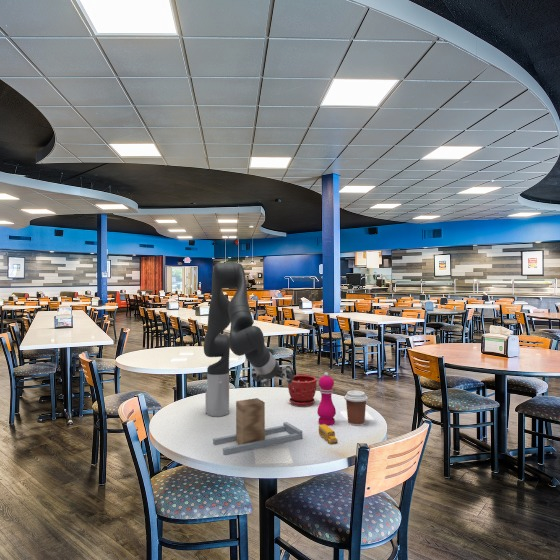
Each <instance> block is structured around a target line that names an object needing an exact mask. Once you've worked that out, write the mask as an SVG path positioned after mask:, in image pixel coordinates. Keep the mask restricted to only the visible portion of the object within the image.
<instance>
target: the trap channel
mask: <svg viewBox="0 0 560 560" xmlns="http://www.w3.org/2000/svg"><path fill="white" fill-rule="evenodd" d="M284 432H286V433H288V434H286V435H282V436H276V437H271V438H265V440H261V441H256V442H251V443H246V444H241V445H239V444H238V445H232V446H228V447H223V448H222V454H223V456H229V455H232V454H238V453H241V452H242V453H243V452H246V451H252V450H256V449H261V448H266V447H270V446H275V445H280V444H284V443H291V442H294V441H297V440H302V439H303V430H301V429H300V428H299V427H297V426H295V425H293V424H291V423H289V422H287V421H285V422H283V425H279V426H274V427H267V428H265V436H268V435H273V434H279V433H284ZM233 442H236V433H235V434H231V435H224V436H221V437H215V438H212V444H213V445H214V446H219V445H223V444H228V443H233Z"/></svg>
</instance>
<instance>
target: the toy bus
mask: <svg viewBox="0 0 560 560" xmlns="http://www.w3.org/2000/svg"><path fill="white" fill-rule="evenodd" d="M318 435H319V436H320V437H321V439H323V440H324V441H325V442H326V443H327V444H329V445H331V444H338V438H337V437H336V431H335V430H333V429H332V428H331V427H330V426H327V425H325V424H323V425H320V424H318Z"/></svg>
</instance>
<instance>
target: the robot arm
mask: <svg viewBox="0 0 560 560" xmlns="http://www.w3.org/2000/svg"><path fill="white" fill-rule="evenodd" d="M211 275H212V277H211V281H212V282H211V297H210V303H209V308H208V316H207V325H206V326H207V328H206V333H205V335H204V336H205V337H204V342H203V353H204V355H205V357H207V358H219V360H218V361H216V362H215V363H212V364H210V365H208V366H207V368H206V370H207V371H206V372H207V373H206V376H207V377H206V379H207V387H206V388H207V389H206V390H205V414H206V413H207V414H206V415H207V416H210V417H223V416H227V415H229V414H230V353H231V352H232V353H233V354H234V355H235V356H238V357H240V356H245V358H246V360H247V361H248V362H249V364H250V365H251V366H252V369H251V377H252V378H253V380H254V382H256V383H259V382H260V383H263V385H265V386H267V387H268V386H269V384H270V379H278V380H280V381H283V380H285V381H286V382H287V384H288V383H289V384H291V382H292V379H294V376H295V371H294V369H293V368H292V367H291V366H290V365H285V368H283V367H281V366H280V365H279V362H278V361H277V359H276V358H275V356H273V354H272V353H271V351H270V350H269V349H268V348H267V346H266V345H265V337H264V333H263V331H262V329H261V328H260V327H258V326H256V325H253V324H254V320H253V316H252V312H251V307H250V304H249V299H248V288H247V279H246V272H245V270H244V266H243V265H242V264H241V262H217V263H216V264H214V266H213V269H212V274H211ZM223 289H224V290H225V289H236V291H235V293H234V294H233V297H232V298H231V300H230V299H228V297H227V296H226V295H225V293H224V292H223ZM229 326H230V330H229V335H227V334H221V333H222V332H224V331H225V330H226V329H227V328H228V327H229ZM230 350H231V352H230Z"/></svg>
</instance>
